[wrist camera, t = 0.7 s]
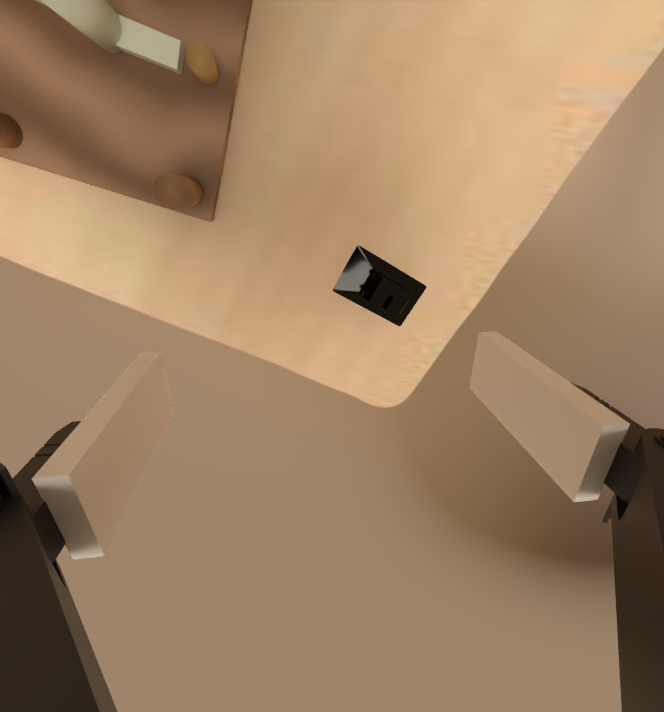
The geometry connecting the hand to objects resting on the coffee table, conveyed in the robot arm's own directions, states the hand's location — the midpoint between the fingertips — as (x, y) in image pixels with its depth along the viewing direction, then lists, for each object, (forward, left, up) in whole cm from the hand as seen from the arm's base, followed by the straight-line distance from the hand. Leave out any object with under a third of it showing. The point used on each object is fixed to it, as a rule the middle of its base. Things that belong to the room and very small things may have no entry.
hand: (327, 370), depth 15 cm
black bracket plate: (0, +9, -25) cm, 27 cm away
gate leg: (-12, -16, -23) cm, 31 cm away
